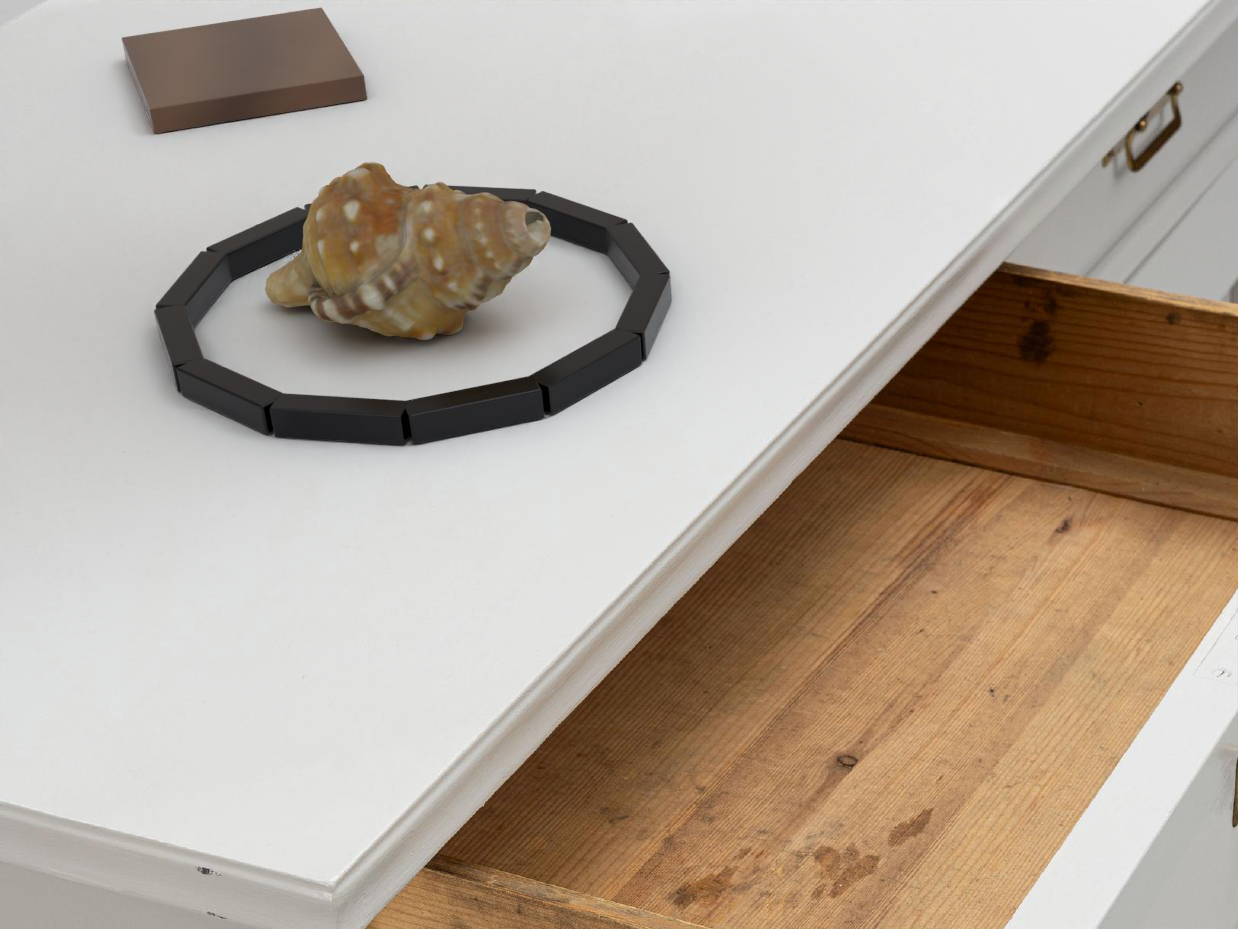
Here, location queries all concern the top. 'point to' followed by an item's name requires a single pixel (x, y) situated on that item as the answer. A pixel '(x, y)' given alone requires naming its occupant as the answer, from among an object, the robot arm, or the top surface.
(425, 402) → the burner ring
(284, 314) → the top surface
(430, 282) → the seashell
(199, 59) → the walnut board
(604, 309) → the top surface
